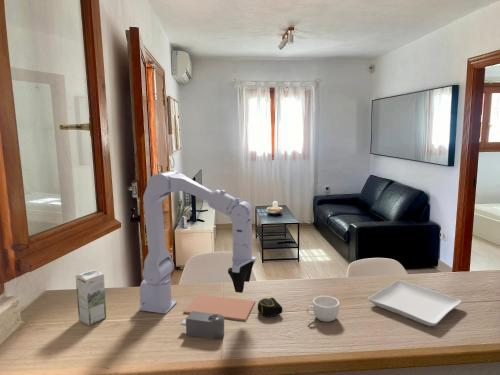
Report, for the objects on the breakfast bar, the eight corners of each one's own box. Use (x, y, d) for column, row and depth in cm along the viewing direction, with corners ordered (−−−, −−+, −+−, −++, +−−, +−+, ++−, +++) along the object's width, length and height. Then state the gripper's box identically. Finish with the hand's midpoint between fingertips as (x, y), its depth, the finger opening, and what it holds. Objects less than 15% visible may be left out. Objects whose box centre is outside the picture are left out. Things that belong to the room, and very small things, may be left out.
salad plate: (434, 334, 99) (435, 323, 99) (365, 307, 115) (366, 297, 115) (462, 309, 113) (463, 299, 113) (397, 288, 129) (398, 279, 128)
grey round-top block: (179, 334, 99) (179, 317, 99) (186, 326, 104) (185, 310, 103) (221, 340, 96) (221, 323, 96) (226, 331, 101) (226, 315, 100)
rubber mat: (183, 313, 111) (183, 311, 111) (198, 296, 123) (198, 294, 123) (245, 321, 106) (245, 319, 106) (255, 302, 118) (255, 300, 118)
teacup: (332, 310, 112) (332, 294, 111) (343, 323, 105) (344, 306, 104) (302, 314, 110) (302, 297, 109) (311, 327, 103) (311, 309, 102)
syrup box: (96, 312, 112) (92, 268, 109) (107, 318, 108) (104, 272, 106) (78, 320, 107) (74, 274, 105) (89, 326, 104) (85, 279, 101)
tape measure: (283, 317, 109) (283, 305, 108) (262, 320, 107) (262, 308, 106) (274, 306, 115) (274, 295, 115) (254, 309, 113) (254, 298, 113)
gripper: (249, 251, 97) (249, 298, 99) (260, 236, 111) (260, 278, 113) (224, 249, 98) (225, 296, 100) (239, 234, 112) (239, 276, 114)
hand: (242, 286), depth 107 cm, fingers open, 7 cm apart
